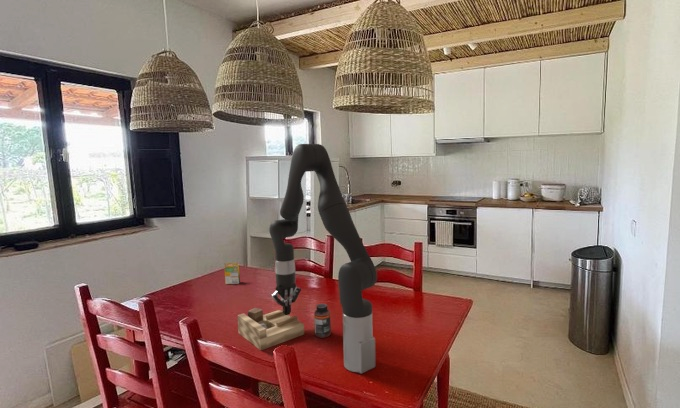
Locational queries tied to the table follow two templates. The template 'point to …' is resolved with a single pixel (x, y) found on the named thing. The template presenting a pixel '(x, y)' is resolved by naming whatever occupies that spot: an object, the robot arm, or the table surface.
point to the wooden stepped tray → (270, 329)
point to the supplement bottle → (322, 321)
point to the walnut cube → (256, 314)
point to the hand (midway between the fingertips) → (287, 314)
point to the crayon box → (232, 273)
